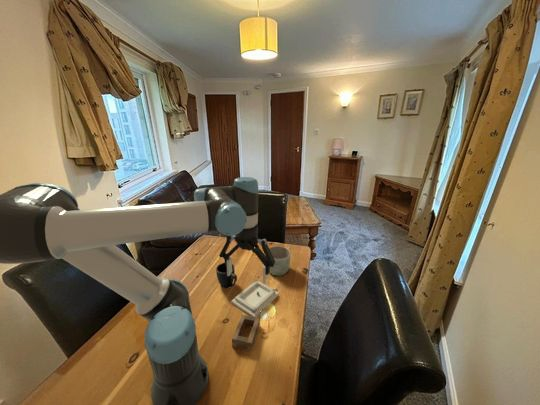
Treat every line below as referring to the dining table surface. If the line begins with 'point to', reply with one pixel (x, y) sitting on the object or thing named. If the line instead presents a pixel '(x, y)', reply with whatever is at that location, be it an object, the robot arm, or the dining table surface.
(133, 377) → the dining table surface
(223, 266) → the mug
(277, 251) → the planter
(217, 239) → the dining table surface
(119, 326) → the dining table surface
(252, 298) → the white flat rectangular tray
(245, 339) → the frame
